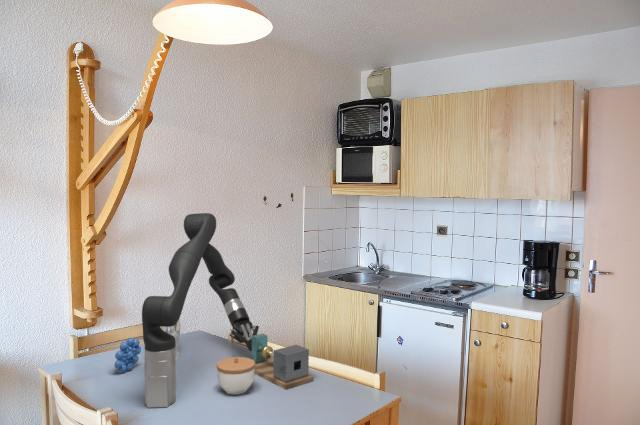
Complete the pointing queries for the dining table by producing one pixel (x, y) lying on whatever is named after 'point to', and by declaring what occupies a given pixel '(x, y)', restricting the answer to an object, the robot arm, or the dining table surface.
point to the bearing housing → (291, 363)
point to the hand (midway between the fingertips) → (253, 350)
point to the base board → (267, 372)
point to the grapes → (127, 355)
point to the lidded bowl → (235, 374)
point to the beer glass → (174, 333)
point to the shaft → (261, 348)
